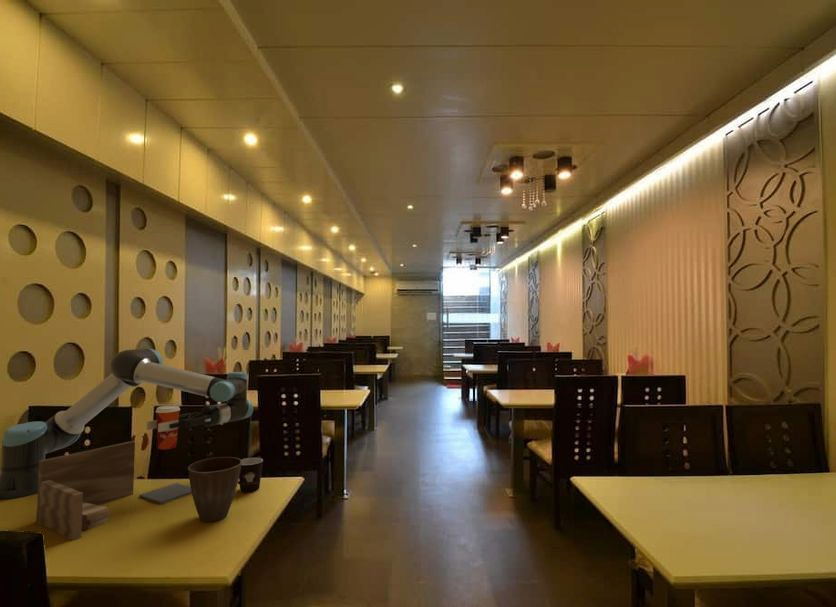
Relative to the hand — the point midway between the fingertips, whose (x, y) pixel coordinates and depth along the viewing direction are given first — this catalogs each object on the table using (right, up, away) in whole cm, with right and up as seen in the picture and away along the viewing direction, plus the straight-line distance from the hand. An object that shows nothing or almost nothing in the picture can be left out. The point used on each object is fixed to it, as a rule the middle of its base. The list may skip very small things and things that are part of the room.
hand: (153, 426), depth 144 cm
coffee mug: (+29, -25, +8) cm, 39 cm away
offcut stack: (-9, -24, -18) cm, 31 cm away
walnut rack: (-8, -24, -12) cm, 28 cm away
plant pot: (+28, -24, -15) cm, 40 cm away
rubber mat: (+3, -25, +4) cm, 25 cm away
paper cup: (+3, -8, +4) cm, 10 cm away
